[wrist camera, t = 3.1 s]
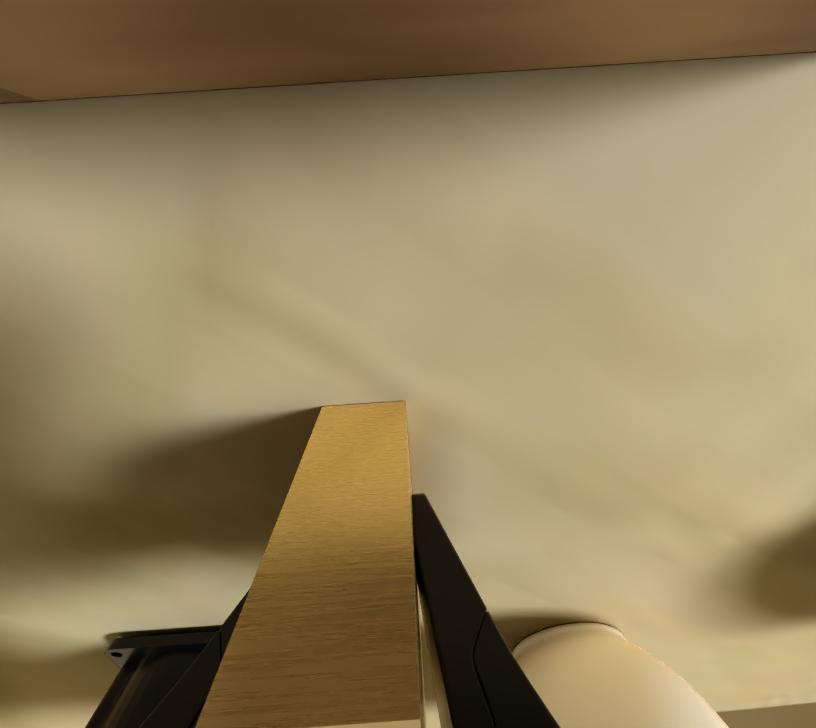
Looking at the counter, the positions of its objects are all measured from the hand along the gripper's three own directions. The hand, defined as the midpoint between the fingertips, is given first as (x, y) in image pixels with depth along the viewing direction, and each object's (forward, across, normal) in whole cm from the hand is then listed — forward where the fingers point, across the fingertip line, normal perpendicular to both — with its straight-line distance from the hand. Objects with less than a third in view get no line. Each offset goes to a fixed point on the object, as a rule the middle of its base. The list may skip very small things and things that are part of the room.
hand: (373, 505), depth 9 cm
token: (+1, 0, 0) cm, 1 cm away
